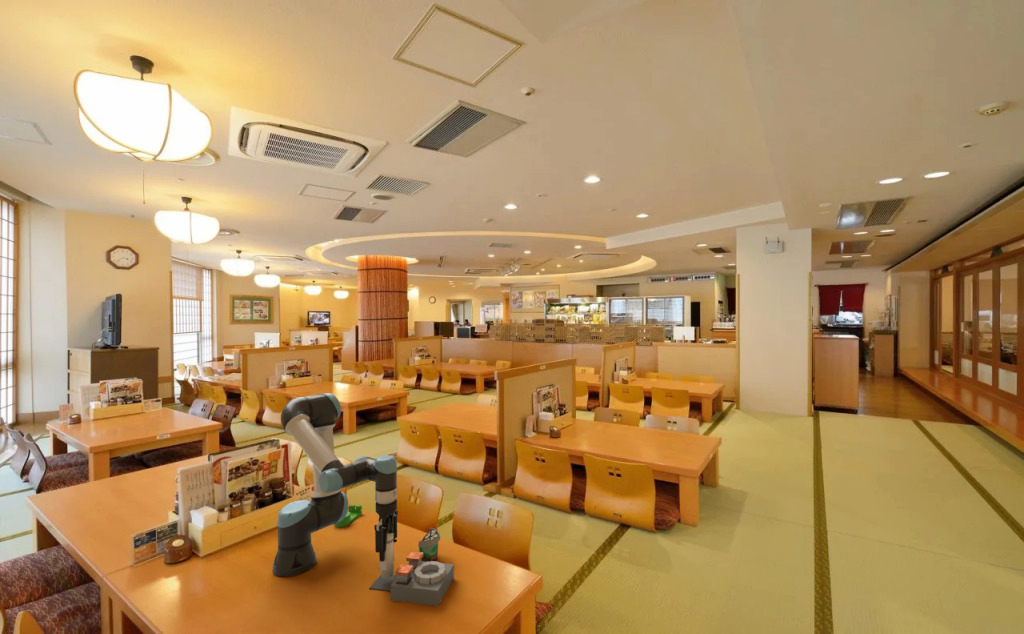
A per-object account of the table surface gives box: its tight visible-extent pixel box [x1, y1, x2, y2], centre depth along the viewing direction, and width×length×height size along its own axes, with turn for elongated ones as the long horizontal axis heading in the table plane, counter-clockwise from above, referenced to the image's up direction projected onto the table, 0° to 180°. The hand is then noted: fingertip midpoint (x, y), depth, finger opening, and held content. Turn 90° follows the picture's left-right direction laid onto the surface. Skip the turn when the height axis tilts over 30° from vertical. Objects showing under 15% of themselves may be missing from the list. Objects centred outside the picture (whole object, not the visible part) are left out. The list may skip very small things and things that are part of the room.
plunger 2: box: [406, 550, 424, 570], centre depth 159 cm, size 5×5×7 cm
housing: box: [390, 561, 455, 607], centre depth 153 cm, size 17×16×7 cm
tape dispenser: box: [334, 504, 363, 528], centre depth 209 cm, size 15×7×5 cm, turn 167°
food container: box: [417, 527, 441, 562], centre depth 172 cm, size 12×6×10 cm, turn 168°
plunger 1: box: [394, 563, 413, 585], centre depth 150 cm, size 5×5×7 cm
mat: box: [368, 574, 398, 592], centre depth 157 cm, size 9×9×1 cm
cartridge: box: [379, 532, 395, 578], centre depth 157 cm, size 5×5×14 cm
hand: (387, 564), depth 157 cm, fingers closed on cartridge, 4 cm apart
